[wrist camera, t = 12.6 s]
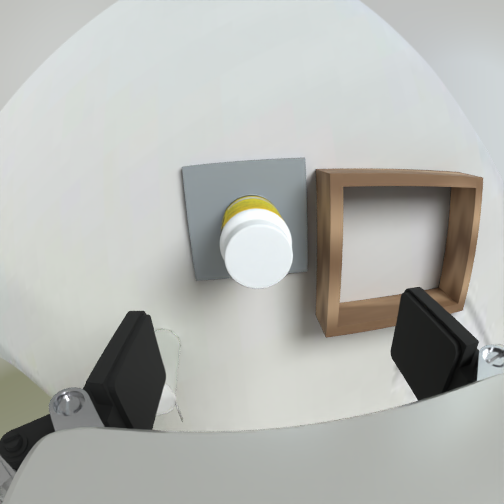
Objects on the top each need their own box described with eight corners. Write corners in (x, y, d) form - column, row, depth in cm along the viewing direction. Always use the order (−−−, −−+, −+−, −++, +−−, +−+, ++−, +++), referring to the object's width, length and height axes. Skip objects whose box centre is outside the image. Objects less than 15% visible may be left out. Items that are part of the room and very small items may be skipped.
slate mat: (306, 269, 28) (307, 271, 27) (196, 278, 27) (196, 280, 27) (303, 157, 24) (305, 157, 24) (183, 166, 24) (182, 167, 23)
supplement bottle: (213, 206, 25) (203, 235, 17) (267, 185, 24) (283, 203, 16) (235, 257, 26) (236, 305, 18) (287, 237, 26) (309, 278, 18)
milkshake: (191, 363, 31) (181, 436, 21) (143, 353, 30) (119, 422, 20) (197, 329, 29) (185, 403, 20) (145, 319, 28) (115, 387, 19)
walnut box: (443, 294, 30) (462, 310, 26) (315, 314, 29) (325, 337, 26) (458, 172, 25) (483, 177, 21) (315, 169, 25) (330, 173, 21)
